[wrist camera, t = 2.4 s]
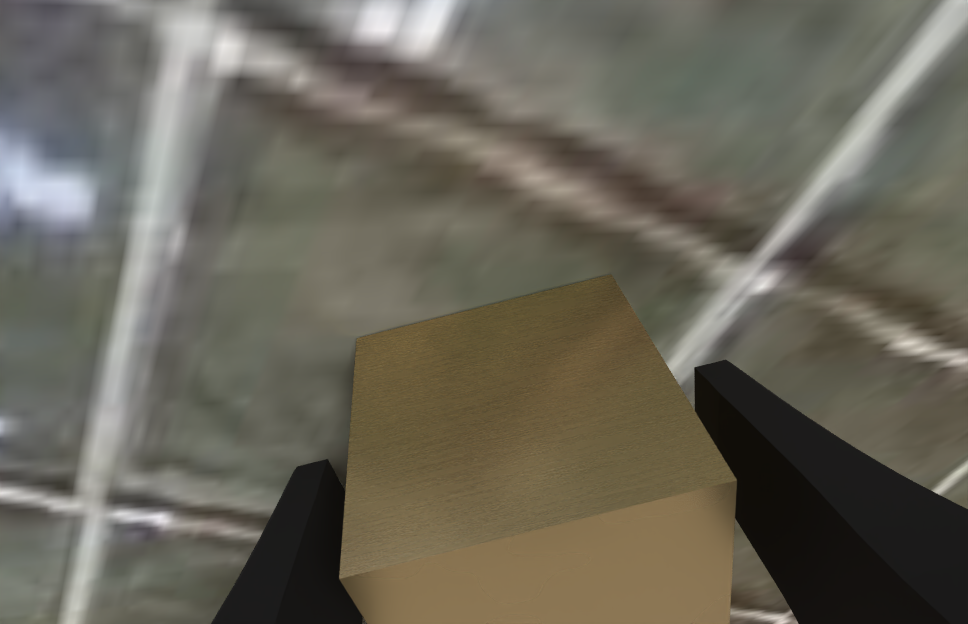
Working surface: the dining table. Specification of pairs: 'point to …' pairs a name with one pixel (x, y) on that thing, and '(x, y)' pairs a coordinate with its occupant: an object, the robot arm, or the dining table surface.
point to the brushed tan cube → (532, 472)
